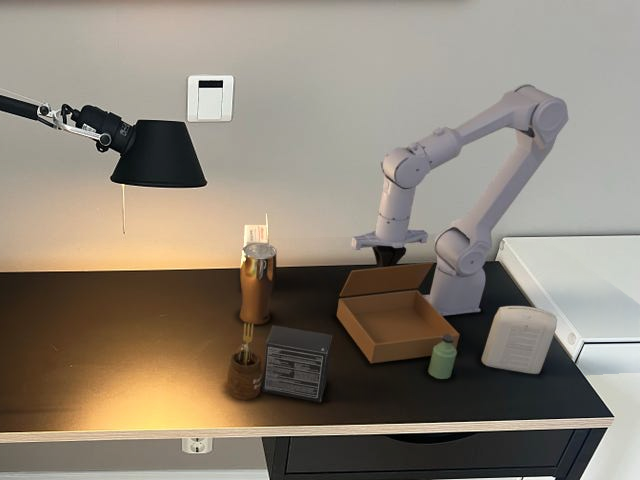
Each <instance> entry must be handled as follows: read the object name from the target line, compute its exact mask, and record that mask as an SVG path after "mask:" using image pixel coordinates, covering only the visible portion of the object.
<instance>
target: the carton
mask: <svg viewBox="0 0 640 480" xmlns="http://www.w3.org/2000/svg"><path fill="white" fill-rule="evenodd" d="M423 295H424V294H422V293H421V292H420V291H419V290H418V289H413V290H406V291H405V290H404V291H394V292H385V293H378V294H369V295H361V296H360V295H359V296H350V297H343V298H339V299H338V304H337V305H338V306H337V310H336V317H337V319H338V320H339V322H340V323H341V324H342V326H343V327H344V328H345V330H346V331H347V333H348V334H349V335H350V337H351V338H352V339H353V341H354V342H355V343H356V345H357V347H358V348H359V349H360V350H361V352H362V353H363V354H364V356H365V357H366V358H367V360H368V361H369V362H370V364H376V363H384V362H393V361H400V360H408V359H415V358H425V357H430V356H432V352H433V348H434V346H436V345H438V344H439V343H442V336H443V335H444V334H450V335H452V336H454V342H453V343H452V345H453V346H454V348H455V349H456V350H457V346H458V341H459V339H460V333H459V332H458V331H457V330H456V329H455V328H454V327H453V326H452V325H451V324H450V323H449V322H448V321H447V319H445V317H444V316H442V315H441V314H440V313H439V312H438V311H437V310H436V309H435V308H434V307H433V306H432V305H431V304H430V303H429V302H428V301H427V300H426V299H425V298H424V296H423Z"/></svg>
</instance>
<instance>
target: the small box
mask: <svg viewBox="0 0 640 480" xmlns="http://www.w3.org/2000/svg"><path fill="white" fill-rule="evenodd" d="M332 342H333V334H328V333H321V332H315V331H308V330H303V329H298V328H291V327H285V326H279V325H272V327H271V329H270V331H269V334H268V336H267V338H266V341H265V354H264V355H265V357H264V366H263V367H264V368H263V377H262V379H263V380H262V386H261V391H262V392H264V393H268V394H273V395H279V396H283V397H289V398H293V399H298V400H299V399H300V400H305V401H310V402H314V403H321V402H322V401H323V395H324V391H325V389H326V385H327V377H328V372H329V371H328V369H329V362H330V355H331V348H332Z"/></svg>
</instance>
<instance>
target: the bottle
mask: <svg viewBox="0 0 640 480" xmlns="http://www.w3.org/2000/svg"><path fill="white" fill-rule="evenodd" d="M453 342H454V336H452V335H450V334H444V335H443V336H442V343H439V344H438V345H436V346H434V348H433V352H432V356H431V357H430V361H429V363H428V364H429V365H428V369H427V372H428V374H429V375H430V376H431V377H434V379H439V380H445V379H449V378H451V376H452V373H453V369H454V366H455V361H456V358H457V354H458V350H457V348H456V349H455V348H454V346H453V345H452V343H453Z"/></svg>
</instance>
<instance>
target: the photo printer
mask: <svg viewBox="0 0 640 480" xmlns="http://www.w3.org/2000/svg"><path fill="white" fill-rule="evenodd" d="M557 321H558V319H557V315H556V314H554V313H552V312H550V311H547V310H544V309H542V308H537V307H533V306H525V305H505V306H500V307H498V310H497V312H496V313H495V315H494V317H493V320H492V323H491V327H490V329H489V333H488V336H487V340H486V343H485V346H484V349H483V352H482V355H481V363H482V364H483V365H485V366H486V367H490V368H495V369H500V370H507V371H513V372H519V373H525V374H532V375H533V374H534V375H538V374H540V373H541V371H542V368H543V366H544V363H545V360H546V357H547V355H548V353H549V349H550V346H551V344H552V341H553V338H554V336H555V333H556V330H557Z"/></svg>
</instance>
